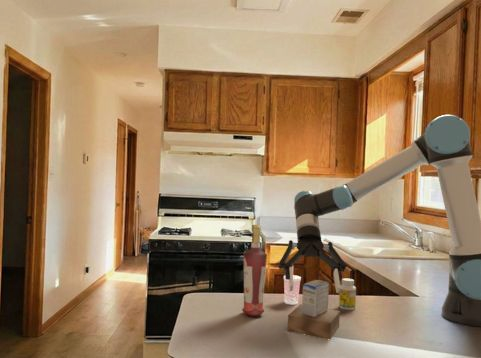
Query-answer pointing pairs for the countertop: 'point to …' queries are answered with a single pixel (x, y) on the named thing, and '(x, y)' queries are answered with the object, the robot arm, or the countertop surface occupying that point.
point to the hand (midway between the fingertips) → (315, 289)
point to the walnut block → (314, 323)
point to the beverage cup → (292, 296)
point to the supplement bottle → (347, 294)
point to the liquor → (254, 276)
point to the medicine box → (315, 298)
